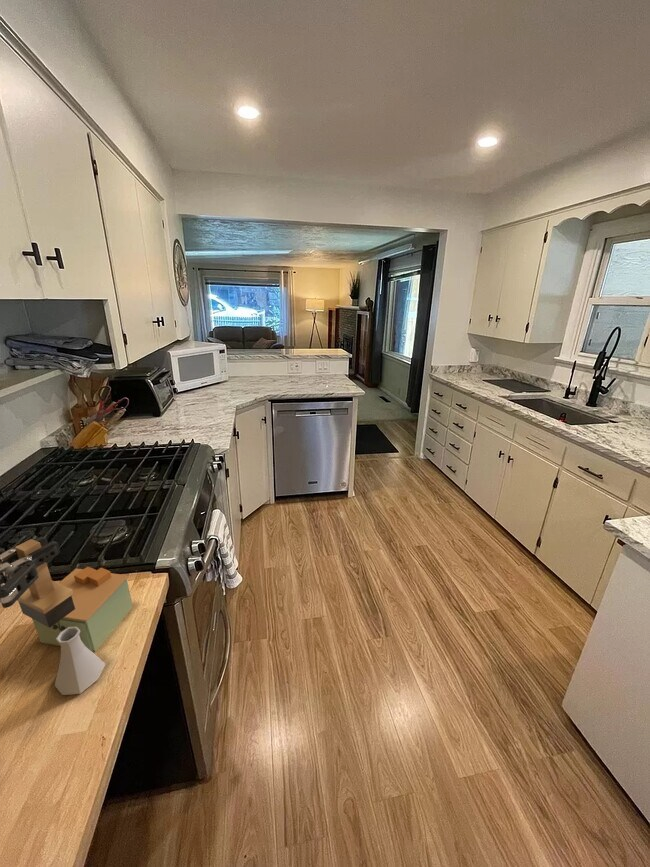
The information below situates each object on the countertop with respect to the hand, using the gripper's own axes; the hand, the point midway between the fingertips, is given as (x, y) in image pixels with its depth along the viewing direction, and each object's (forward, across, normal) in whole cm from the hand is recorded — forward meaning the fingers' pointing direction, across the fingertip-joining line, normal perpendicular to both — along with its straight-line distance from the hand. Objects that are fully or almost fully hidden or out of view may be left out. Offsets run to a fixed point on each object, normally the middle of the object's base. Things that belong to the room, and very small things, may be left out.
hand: (51, 544), depth 56 cm
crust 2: (+10, +8, +18) cm, 22 cm away
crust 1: (+9, +11, +18) cm, 23 cm away
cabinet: (+6, +8, +27) cm, 29 cm away
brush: (-3, 0, +11) cm, 11 cm away
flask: (-2, -1, +27) cm, 27 cm away
